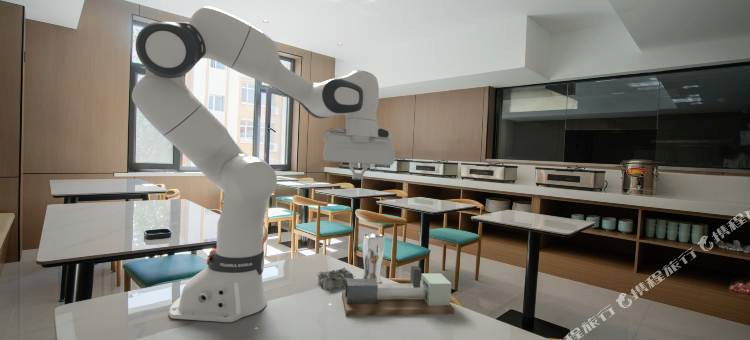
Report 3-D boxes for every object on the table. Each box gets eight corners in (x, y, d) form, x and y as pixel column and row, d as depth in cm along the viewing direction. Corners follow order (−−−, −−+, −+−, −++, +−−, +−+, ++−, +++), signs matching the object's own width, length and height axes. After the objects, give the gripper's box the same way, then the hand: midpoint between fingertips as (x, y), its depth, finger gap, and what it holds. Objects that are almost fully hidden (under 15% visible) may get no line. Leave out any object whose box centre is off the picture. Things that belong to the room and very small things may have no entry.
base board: (345, 316, 92) (346, 310, 92) (341, 296, 104) (342, 291, 104) (454, 313, 97) (454, 308, 97) (438, 295, 109) (439, 290, 109)
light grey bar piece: (363, 299, 97) (365, 269, 97) (362, 294, 100) (363, 265, 100) (438, 298, 101) (440, 269, 100) (434, 293, 104) (436, 266, 103)
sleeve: (346, 304, 96) (347, 285, 95) (345, 296, 100) (346, 278, 100) (376, 303, 97) (377, 285, 97) (373, 296, 102) (374, 278, 102)
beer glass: (379, 286, 113) (382, 239, 113) (358, 283, 115) (361, 236, 114) (383, 279, 120) (386, 234, 119) (363, 276, 122) (366, 232, 121)
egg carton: (325, 291, 108) (325, 277, 108) (314, 282, 114) (315, 269, 114) (356, 285, 114) (356, 272, 114) (344, 277, 120) (345, 265, 120)
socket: (428, 311, 98) (430, 283, 98) (419, 298, 106) (421, 273, 105) (449, 310, 99) (451, 283, 99) (439, 298, 107) (441, 273, 106)
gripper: (324, 127, 98) (321, 178, 98) (398, 132, 101) (394, 182, 102) (323, 128, 104) (320, 176, 105) (393, 133, 108) (389, 180, 108)
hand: (357, 179), depth 103 cm, fingers closed
